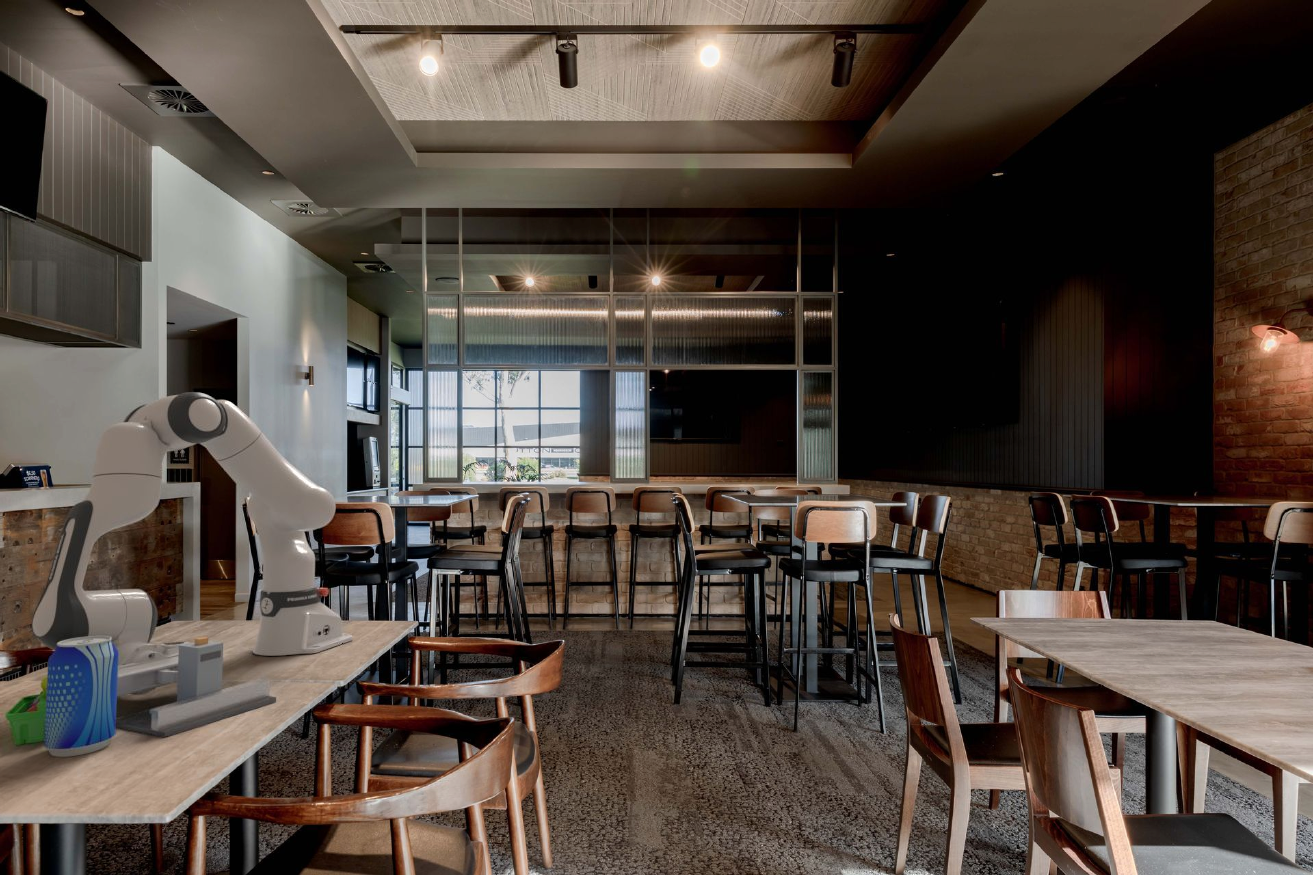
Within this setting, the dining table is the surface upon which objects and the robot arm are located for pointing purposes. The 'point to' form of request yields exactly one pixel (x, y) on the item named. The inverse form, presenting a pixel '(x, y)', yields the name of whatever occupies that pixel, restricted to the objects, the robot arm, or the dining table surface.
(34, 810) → the dining table surface
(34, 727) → the fruit basket
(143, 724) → the rail plate
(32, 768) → the dining table surface
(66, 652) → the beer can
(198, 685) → the module
